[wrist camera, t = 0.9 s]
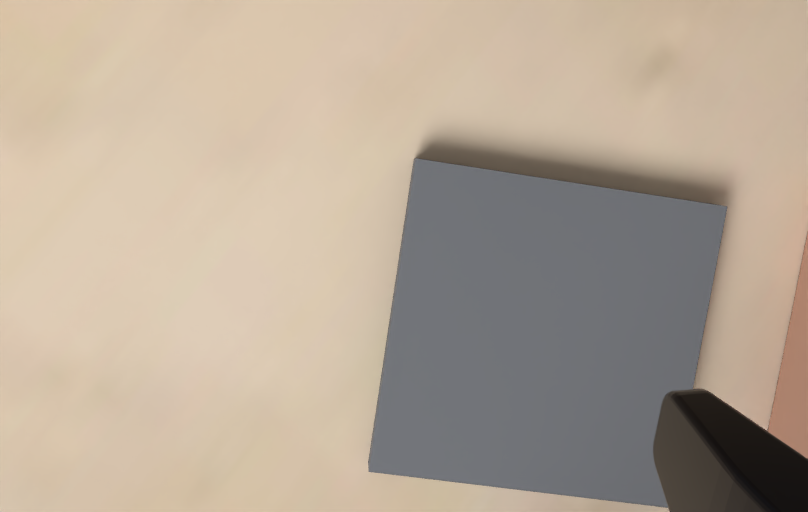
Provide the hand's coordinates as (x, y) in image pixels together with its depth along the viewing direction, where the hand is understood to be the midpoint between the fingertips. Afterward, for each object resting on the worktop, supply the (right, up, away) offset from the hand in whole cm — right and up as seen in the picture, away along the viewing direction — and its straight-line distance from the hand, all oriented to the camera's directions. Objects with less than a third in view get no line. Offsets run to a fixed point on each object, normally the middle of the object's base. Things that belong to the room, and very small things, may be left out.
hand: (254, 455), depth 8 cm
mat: (+6, 0, +16) cm, 17 cm away
